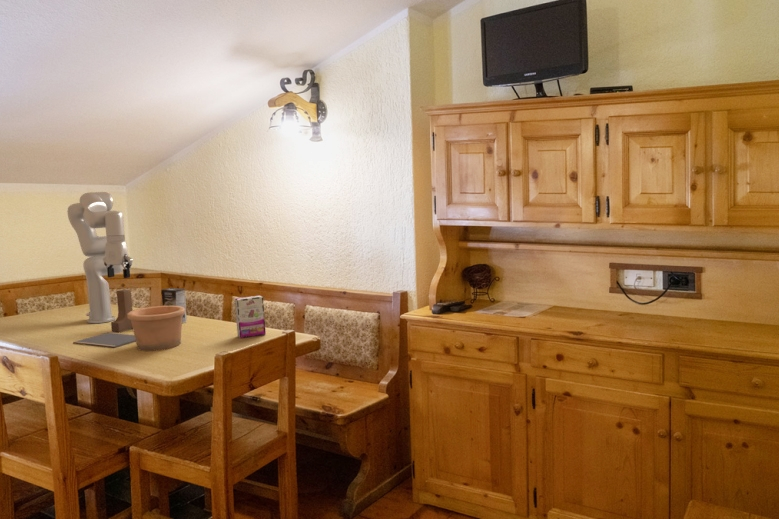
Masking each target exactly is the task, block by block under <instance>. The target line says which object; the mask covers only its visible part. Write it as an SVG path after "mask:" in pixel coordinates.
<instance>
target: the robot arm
mask: <svg viewBox="0 0 779 519" xmlns="http://www.w3.org/2000/svg"><path fill="white" fill-rule="evenodd" d="M113 205H114V199H113V197H112V195H111V194H110V193H109V192H107V191H98V192H97V191H96V192H95V191H94V192H93V191H91V192H86V193H83V194H81V195H80V196H79V202H75V203H72V204H70V205H68V207H67V218H68V221H69V223H70V225H71V227H72V228H73V229H74V231H75V233H76V235H77V239H78V242H79V245H80V248H81V251H82V254H83V255H84V256H85V257H87V258H85V260H83V264H82V265H83V270H84V274H85V278H86V286H87V294H88V295H87V296H88V304H89V305H88V307H89V308H88V309H89V312H88V313H86V314H85V316H86V317H88V319H86V322H87V323H88V324H103V323H109V322H110V323H111V322H113V321H115V320H116V316H114V315H112V305H111V294H110V293H111V292H110V285H109V282H108V281H107V280H106V279H105V278H104V277H103V276H107V278H113V277H115V275H116V274H118V275H119V274H120V273H121V272H122V273H123V274H122V275H123V276H122V277H123V279H128V278H131V267H132V265H133V261H134V260H133V258H132V257H130V256H129V251H128V246H127V242H126V238H125V237H126V235H125V223H124V214H123V213H122V211H119V210H112V208H113ZM96 229H105V235H104V236H99V235H98V234H97V231H96Z"/></svg>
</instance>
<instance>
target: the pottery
mask: <svg viewBox="0 0 779 519" xmlns="http://www.w3.org/2000/svg"><path fill="white" fill-rule="evenodd" d="M184 313H185V308H184V307H181V306H163V305H158V306H156V305H155V306H149V307H142V308H137V309H134V310H133V311H130V312H129V313H127V317H128V319H130V320H131V322H132V327H133V329H132V330H133V335H135V339H136V342H135V343H136V348H137V349H138V350H139V351H144V352H155V351H156V350H157V351H163V350H164V349H165V350H169V349H173V348H176V347H178V346H179V345H181V343H182V329H183V328H182V327H183V323H182V315H183V314H184Z"/></svg>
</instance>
